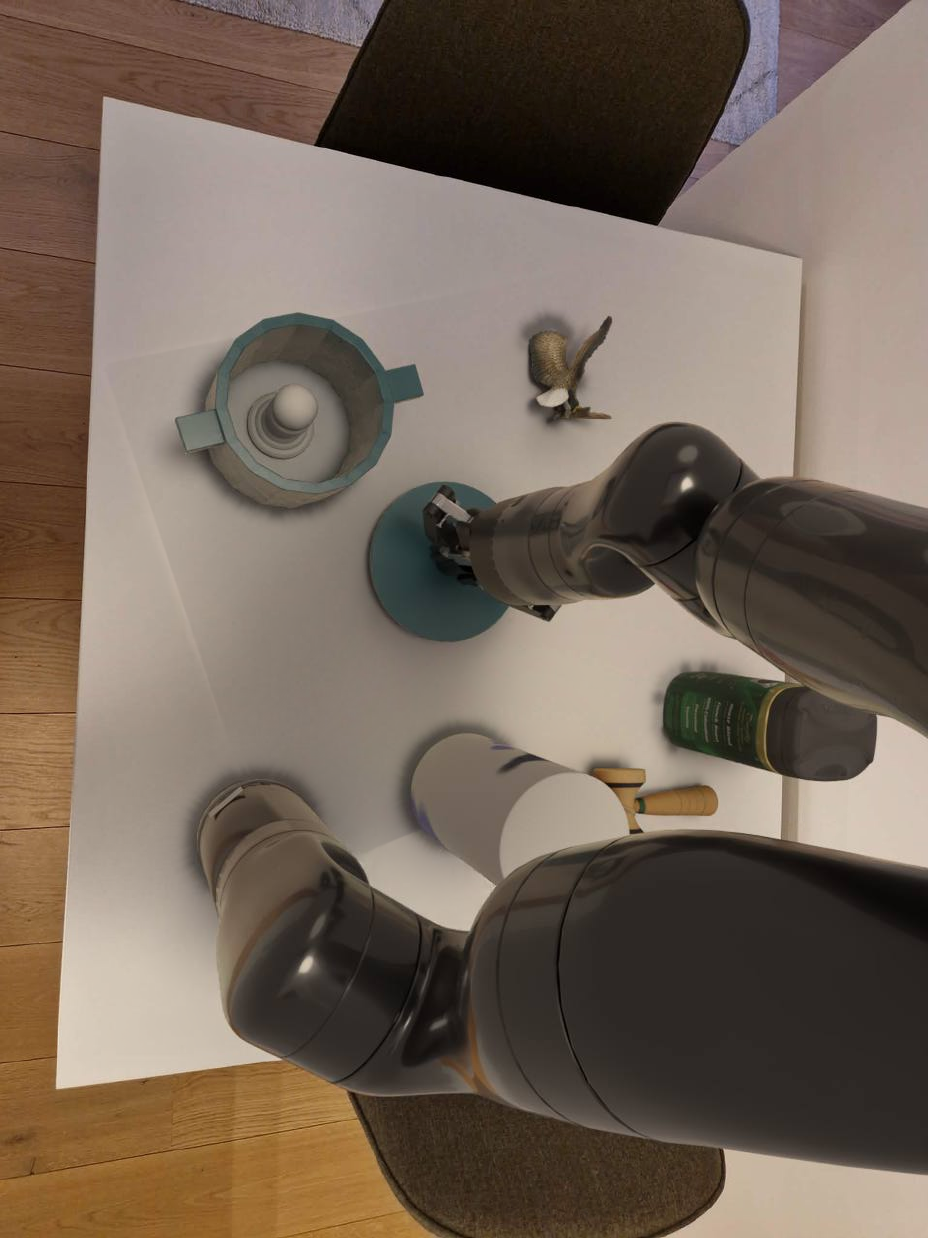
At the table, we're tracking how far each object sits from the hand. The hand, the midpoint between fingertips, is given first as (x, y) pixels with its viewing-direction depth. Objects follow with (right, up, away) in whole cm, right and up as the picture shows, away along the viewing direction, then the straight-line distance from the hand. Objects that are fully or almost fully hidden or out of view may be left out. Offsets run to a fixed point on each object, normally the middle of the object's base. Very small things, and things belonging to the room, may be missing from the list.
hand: (453, 561), depth 74 cm
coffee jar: (+24, -14, +14) cm, 31 cm away
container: (+1, -20, +5) cm, 20 cm away
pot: (-14, +11, -2) cm, 18 cm away
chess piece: (-14, +11, -2) cm, 18 cm away
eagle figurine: (+9, +18, +7) cm, 21 cm away
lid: (-1, 0, +1) cm, 1 cm away
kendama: (+16, -22, +11) cm, 29 cm away
